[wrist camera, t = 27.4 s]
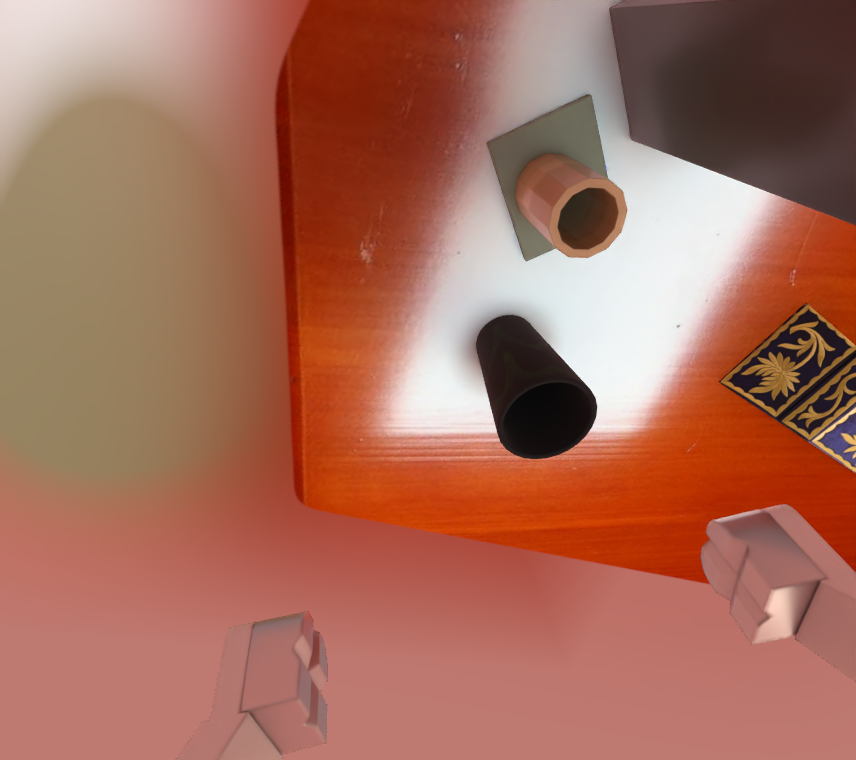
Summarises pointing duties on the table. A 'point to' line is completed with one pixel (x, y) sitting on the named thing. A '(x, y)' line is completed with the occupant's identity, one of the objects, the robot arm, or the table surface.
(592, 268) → the table surface
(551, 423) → the cup
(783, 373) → the decorative box
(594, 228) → the orange hollow cylinder
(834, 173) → the peg stand
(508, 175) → the felt coaster
